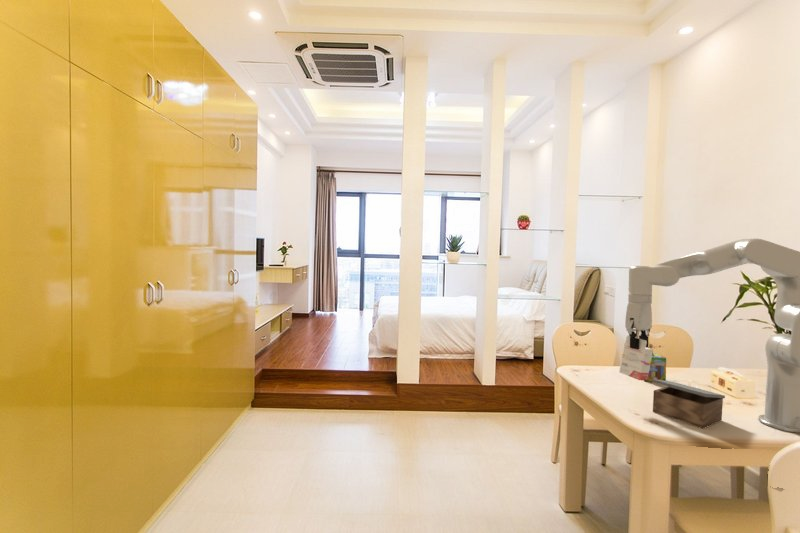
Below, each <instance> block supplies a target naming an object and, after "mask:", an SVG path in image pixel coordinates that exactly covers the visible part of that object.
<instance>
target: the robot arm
mask: <svg viewBox="0 0 800 533" xmlns="http://www.w3.org/2000/svg"><path fill="white" fill-rule="evenodd" d="M747 264H749V265H750V264H751V265H753V264H754V265H756V266H760V268H761V270H762V271H763V272H764V273H765V274H767V275H769V277H771V278H772V279H773V281H774V283H775V285H776V291H777V292H776V300H775V301H776V302H775V306H774V307H775V308H774V309H775V310H774V317H773V319H774V322H775V324H776V326H778V327H779V328H781V329H784V330H787V331H790V332H791V334H789V333H775V334H773V335H771V336H770V337H769V338H768V339H767V340H766V343H765V349H764V350H765V357H766V364H767V370H766V382H765V383H766V384H765V402H764V403H765V404H764V414H760V415H758V421H759V422H760V423H762V424H763V425H766V426H768V427H771V428H773V429H777V430H781V431H785V432H791V433H797V434H798V433H800V251H798V250H796V249H792V248H789V247H787V246H783V245H781V244H777V243H774V242H771V241H768V240H766V239H762V238H745V239H739V240H738V239H737V240H733V241H731V242H728V243H725V244H721V245H718V246H716V247H713V248H712V247H711V248H709V249H706V250H702V251H699V252H695V253H692V254H689V255H685V256H681V257H678V258H674V259H671V260H668V261H664V262H661V263H657V264H655V265H653V266H648V265H647V266H646V265H632V266H630V267H629V270H628V295H627V296H628V298H627V299H628V303H627V306H626V311H625V312H626V314H625V325H624V326H625V329H626V332H627V333H628V335H629V337H630V348H633V349H639V343H640V342H639V339H642V340H646V341H647V344H646V348H648V347H649V338H650V331H651V329H652V327H653V325H652V324H653V312H652V310H653V309H652V305H653V303H652V302H653V300H652V299H653V286H657V287H659V286H660V287H665V288H666V287H673V286H675V285H676V284H677V283H678V282H679V280H680V279H683V278H687V277H694V276H695V277H696V276H707V275H713V274H715V273H719V272H722V271H725V270H728V269H732V268H736V267H739V266H743V265H747Z"/></svg>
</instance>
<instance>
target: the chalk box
mask: <svg viewBox="0 0 800 533" xmlns="http://www.w3.org/2000/svg"><path fill="white" fill-rule="evenodd" d="M647 348H650V349H652V348H651V347H649V346H648V347H647ZM652 379H654V380H663V381H667V357H666V356H663V355H661V354H659V353H653V354H652V359H651V364H650V369H649V374H648V380H642V381H643V382H646V383H647V382H648V383H649V382H650V383H653V382H652Z"/></svg>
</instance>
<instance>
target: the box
mask: <svg viewBox="0 0 800 533" xmlns="http://www.w3.org/2000/svg"><path fill="white" fill-rule="evenodd" d="M723 402H724V398H714V397H704V396H701V395H697V394H693V393H690V392H686V391H683V390H679V389H675V388H672V387H668V386H664V387H661V388H658V389H654V390H653V399H652V413H654V414H658V415H660V416H664V417H667V418H670V419H674V420H676V421H679V422H682V423H685V424H688V425H691V426H693V427H697V428H699V427H700V429H705V427H706V428H708V427H710V426H713V425H715V424H717V423H719V422H721V421H722V418H723Z"/></svg>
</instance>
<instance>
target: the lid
mask: <svg viewBox="0 0 800 533" xmlns="http://www.w3.org/2000/svg"><path fill="white" fill-rule="evenodd" d="M651 383H655V384H658V385H661V386H664V387H672V388H675V389H679V390H683V391H686V392H690V393H693V394H697V395H701V396H704V397H714V398H723V399H725V398H726V395H724V394H722V393H721V394H720V393H718V392H717V393H716V392H713V391H708V390H705V389H701V388H697V387H694V386H691V385H690V386H689V385H686V384H683V383H680V382H675V381H671V380H670V381H669V380H666V381H663V380H654V379H652V382H651Z"/></svg>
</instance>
